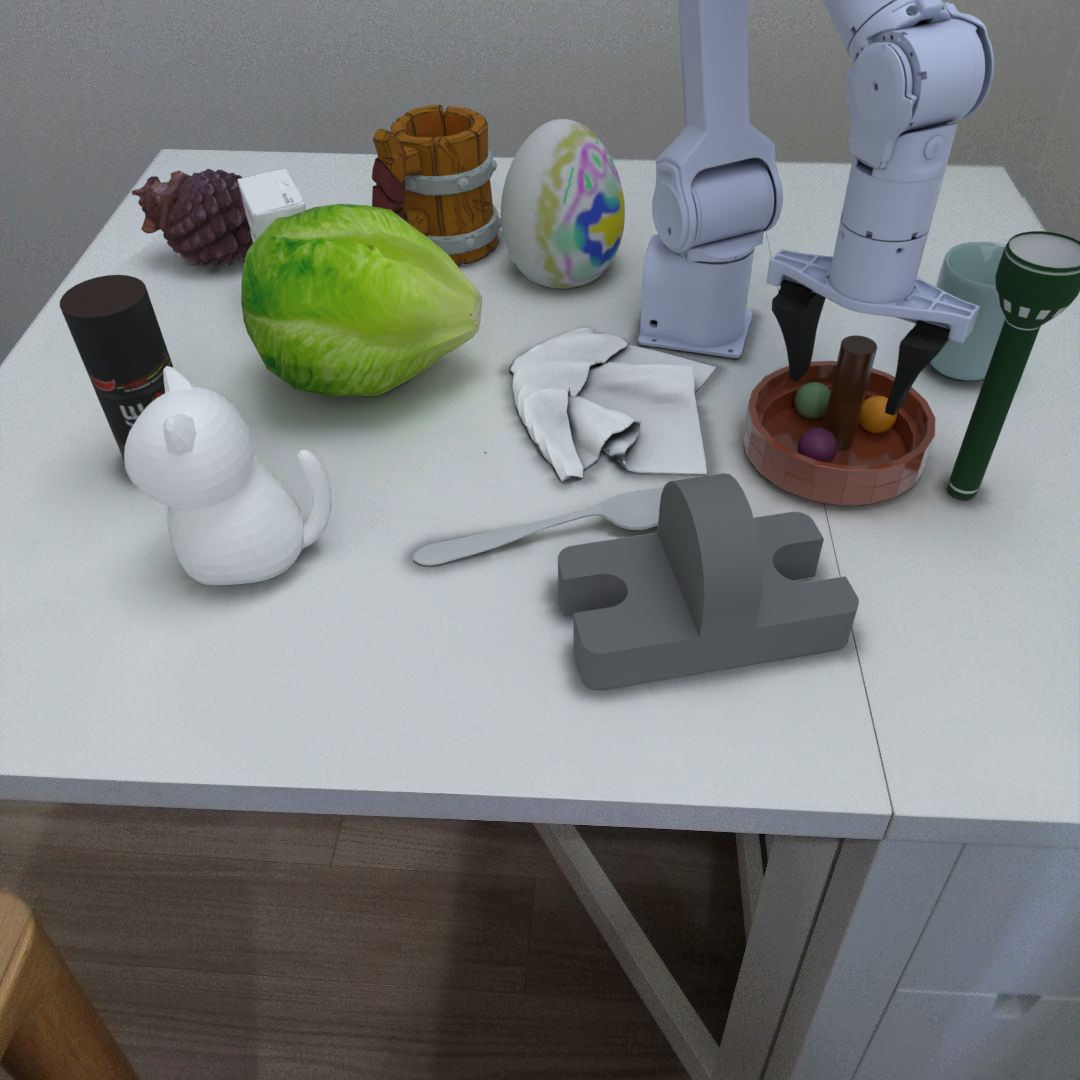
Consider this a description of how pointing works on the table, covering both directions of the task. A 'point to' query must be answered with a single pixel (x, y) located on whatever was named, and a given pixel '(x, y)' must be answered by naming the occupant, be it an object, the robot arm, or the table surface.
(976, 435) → the flashlight
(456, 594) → the table surface
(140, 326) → the deodorant
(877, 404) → the amber bead
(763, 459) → the bowl
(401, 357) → the lettuce
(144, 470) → the cat figurine
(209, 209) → the pine cone
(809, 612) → the bracket
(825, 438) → the plum bead
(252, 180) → the ink box
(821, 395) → the sage bead
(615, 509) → the spoon
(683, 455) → the cloth
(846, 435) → the stick
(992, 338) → the cup
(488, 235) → the mug
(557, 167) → the decorative egg
